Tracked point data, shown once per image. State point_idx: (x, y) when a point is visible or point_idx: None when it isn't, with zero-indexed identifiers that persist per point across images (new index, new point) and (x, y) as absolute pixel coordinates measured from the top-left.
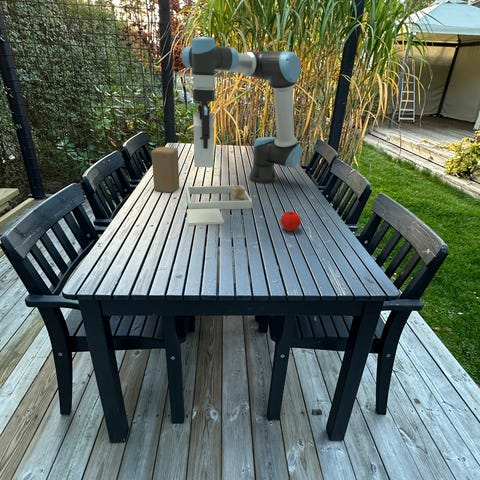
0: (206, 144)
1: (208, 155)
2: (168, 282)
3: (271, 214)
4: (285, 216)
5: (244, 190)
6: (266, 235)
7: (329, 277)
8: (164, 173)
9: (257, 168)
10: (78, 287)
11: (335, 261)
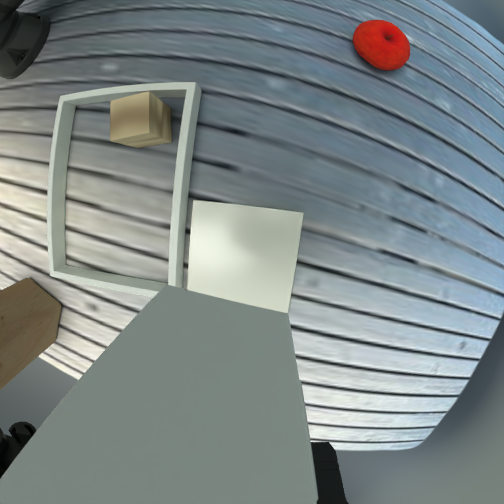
0: (336, 476)
1: (302, 393)
2: (465, 358)
3: (263, 50)
4: (397, 55)
5: (151, 95)
6: (396, 124)
7: None
8: (30, 342)
9: (6, 50)
10: (415, 442)
11: (490, 73)
